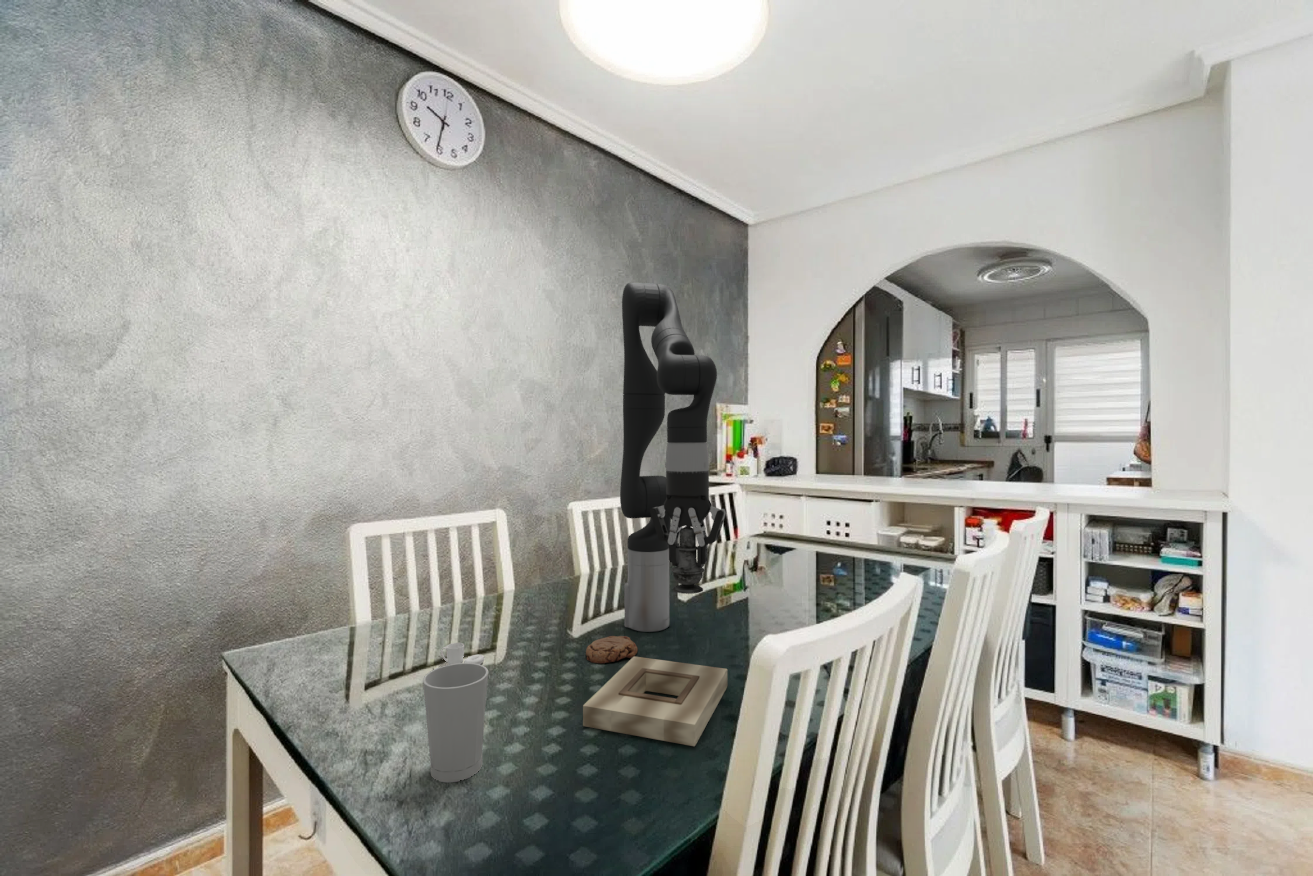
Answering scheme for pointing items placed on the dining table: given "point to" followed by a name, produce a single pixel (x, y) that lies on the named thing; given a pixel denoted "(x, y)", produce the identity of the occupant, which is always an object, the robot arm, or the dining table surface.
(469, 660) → the teacup and saucer
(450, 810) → the dining table surface
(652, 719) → the birch frame
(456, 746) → the cup
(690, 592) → the dark grey tall piece
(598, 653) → the cookie
